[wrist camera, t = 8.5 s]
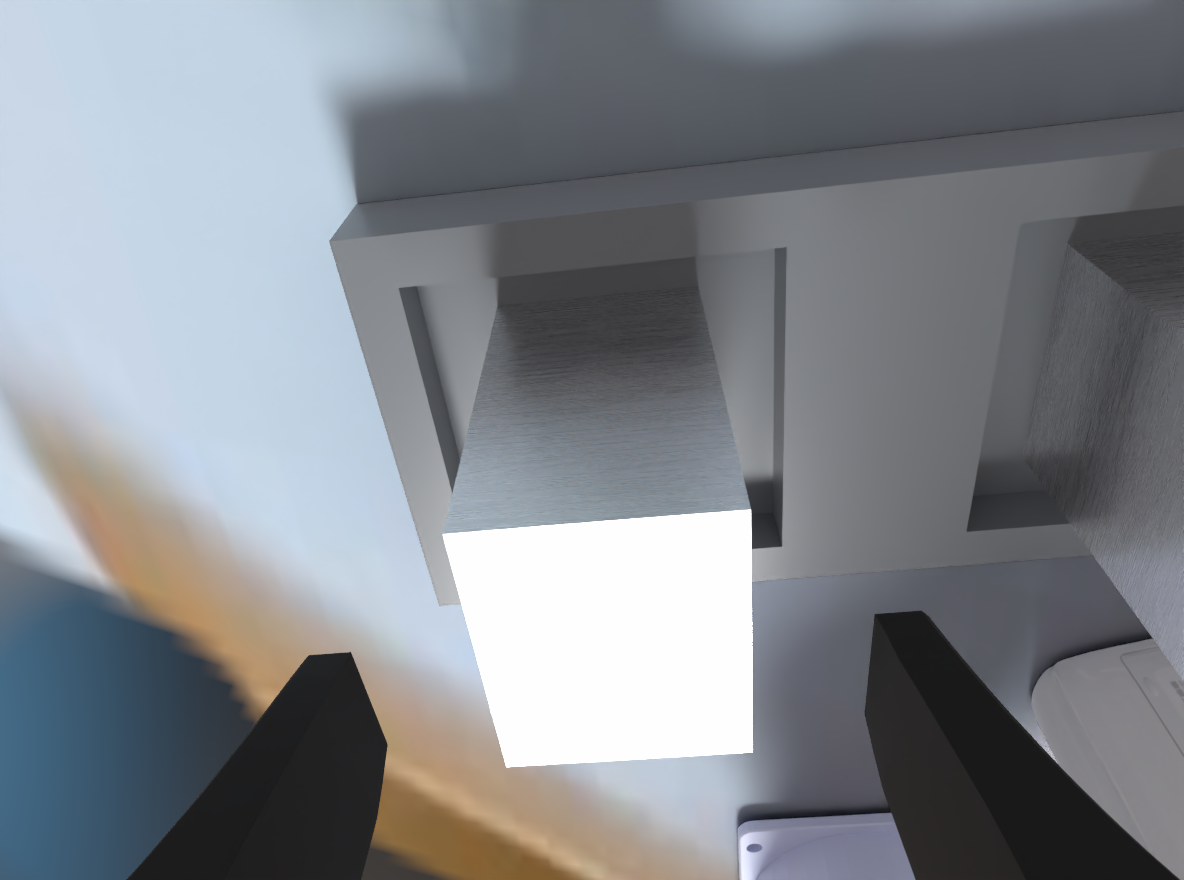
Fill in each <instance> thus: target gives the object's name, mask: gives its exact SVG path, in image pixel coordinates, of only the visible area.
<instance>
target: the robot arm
mask: <svg viewBox="0 0 1184 880" xmlns="http://www.w3.org/2000/svg"><path fill="white" fill-rule="evenodd" d="M865 717H866V721H867V725H868V730H869V734H870V738H871V743H872V747H873V751H874V755H875V759H876V763H877V767H878V771H879V775H880V779H881V783H882V787H883V790H884V793H885V796H886V799H887V802H888V805H889V807H890V810H891V813H877V814H860V815H842V816H824V817H807V818H789V819H771V820H754V821H747V822H745V823H743V824H742V825H740V826H739V828H738V860H739V880H1180V879H1179V878H1178V877H1177V876H1175V875H1174V874H1173V873H1172V872H1171V871H1170V870H1169V869H1167V868H1166V867H1165V866H1164V865H1163V864H1162V863H1161V862H1159V861H1158V860H1157V859H1156V858H1155V857H1154V856H1153V855H1151V854H1150V853H1149V852H1148V851H1147V850H1146V849H1145V848H1144V847H1143V846H1142V845H1141V844H1139V843H1138V842H1137V841H1136V840H1135V839H1134V838H1133V837H1132V836H1131V835H1130V834H1129V833H1128V832H1126V831H1125V830H1124V829H1123V828H1122V827H1121V826H1120V825H1119V824H1118V823H1117V822H1116V821H1115V820H1114V819H1113V818H1112V817H1111V816H1109V815H1108V814H1107V813H1106V812H1105V811H1104V810H1103V809H1102V808H1101V807H1100V806H1099V805H1098V804H1097V803H1096V802H1095V801H1094V800H1093V799H1092V798H1091V797H1090V796H1089V795H1088V794H1087V793H1086V792H1085V791H1084V790H1083V789H1082V788H1081V787H1080V786H1079V785H1078V784H1077V783H1076V782H1075V781H1074V780H1073V779H1072V778H1071V777H1070V776H1069V775H1068V774H1067V773H1066V772H1065V771H1064V770H1063V769H1062V768H1061V767H1060V766H1059V765H1058V764H1057V763H1056V762H1055V761H1054V760H1053V759H1052V758H1051V757H1050V756H1049V754H1048V753H1047V752H1046V751H1045V750H1044V749H1043V748H1042V747H1041V746H1040V745H1039V744H1038V743H1037V742H1036V741H1035V739H1034V738H1033V737H1032V736H1031V735H1030V734H1029V733H1028V732H1027V731H1026V730H1025V729H1024V728H1023V727H1022V726H1021V724H1020V723H1019V722H1018V721H1017V720H1016V719H1015V718H1014V717H1013V716H1012V715H1011V714H1010V713H1009V711H1008V710H1007V709H1006V708H1005V707H1004V706H1003V705H1002V704H1001V702H1000V701H999V700H998V699H997V698H996V697H995V696H994V695H993V693H992V692H991V691H990V690H989V689H988V688H987V686H986V685H985V684H984V683H983V682H982V681H981V679H980V678H979V677H978V676H977V675H976V674H975V673H974V671H973V670H972V669H971V668H970V667H969V665H968V664H967V663H966V662H965V661H964V659H963V658H962V657H961V656H960V655H959V653H958V652H957V651H956V650H955V649H954V647H953V646H952V645H951V644H950V642H949V641H948V640H947V639H946V638H945V636H944V635H943V634H942V633H941V631H940V630H939V629H938V628H937V626H936V625H935V624H934V623H933V621H932V620H931V619H930V618H929V616H927V615H926V614H925V613H924V612H922V611H913V612H899V613H885V614H875V617H874V627H873V637H872V647H871V657H870V667H869V676H868V686H867V696H866V706H865ZM386 752H387V742H386V739H385V737H384V734H383V732H382V729H381V727H380V724H379V722H378V719H377V717H376V714H375V712H374V709H373V707H372V704H371V702H370V699H369V697H368V694H367V692H366V689H365V687H364V684H363V682H362V679H361V677H360V674H359V672H358V669H357V667H356V664H355V662H354V659H353V657H352V654H351V652H349V653H335V654H321V655H309V656H308V657H307V658H306V659H305V660H304V662H303V663H302V664H301V665H300V667H299V668H298V669H297V671H296V672H295V673H294V674H293V676H292V677H291V678H290V680H289V681H288V682H287V684H286V685H285V686H284V688H283V689H282V690H281V692H280V693H279V694H278V695H277V697H276V698H275V699H274V701H273V702H272V703H271V705H270V706H269V707H268V709H267V710H266V711H265V713H264V714H263V715H262V717H261V718H260V719H259V720H258V722H257V723H256V724H255V726H254V727H253V728H252V730H251V731H250V732H249V734H248V735H247V736H246V738H245V739H244V740H243V741H242V743H241V744H240V745H239V747H238V748H237V749H236V750H235V752H234V753H233V754H232V755H231V757H230V758H229V759H228V760H227V762H226V763H225V764H224V765H223V767H222V768H221V769H220V770H219V772H218V773H217V774H216V775H215V777H214V778H213V779H212V780H211V782H210V783H209V784H208V785H207V787H206V788H205V789H204V791H203V792H202V793H201V794H200V795H199V797H198V798H197V799H196V800H195V802H194V803H193V804H192V805H191V806H190V808H189V809H188V810H187V811H186V812H185V813H184V815H183V816H182V817H181V818H180V819H179V820H178V821H177V823H176V824H175V825H174V826H173V827H172V828H171V830H170V831H169V832H168V833H167V834H166V835H165V837H164V838H163V839H162V840H161V841H160V842H159V844H158V845H157V846H156V847H155V848H154V849H153V851H152V852H151V853H150V854H149V855H148V856H147V857H146V859H145V860H144V861H143V862H142V863H141V864H140V865H139V867H138V868H137V869H136V870H135V871H134V872H133V873H132V874H131V875H130V876H129V878H128V879H127V880H361V878H362V874H363V870H364V866H365V862H366V859H367V855H368V851H369V847H370V843H371V840H372V836H373V832H374V828H375V824H376V820H377V815H378V808H379V802H380V796H381V789H382V782H383V775H384V767H385V759H386Z"/></svg>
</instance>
